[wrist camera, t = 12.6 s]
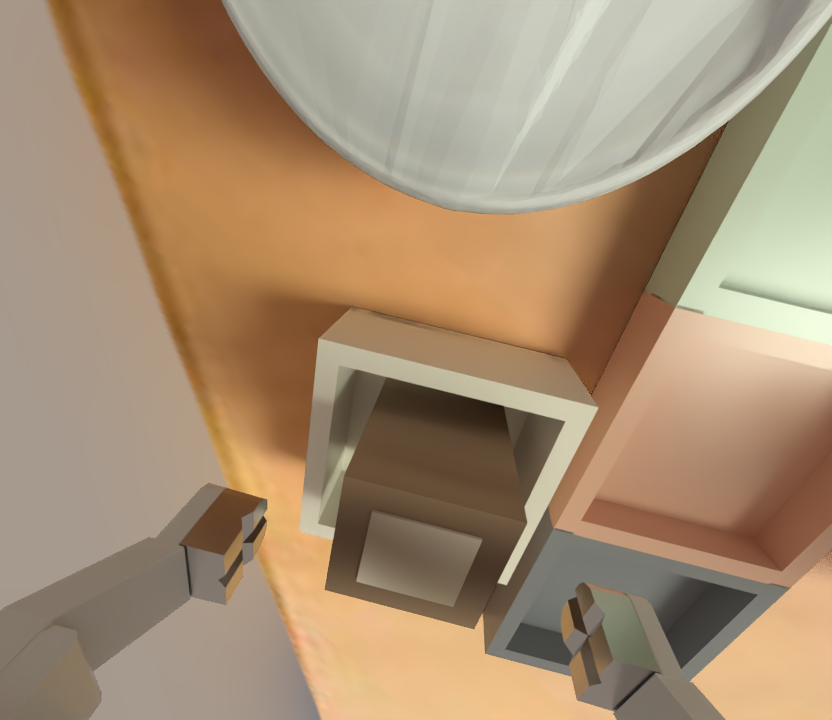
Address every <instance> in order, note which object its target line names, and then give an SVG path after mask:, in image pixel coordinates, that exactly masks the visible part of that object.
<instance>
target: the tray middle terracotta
mask: <svg viewBox="0 0 832 720" xmlns="http://www.w3.org/2000/svg"><path fill="white" fill-rule="evenodd" d="M654 296H655V297H654ZM659 297H660V296H659ZM663 299H664V298H663ZM677 306H678V307H677V308H675V307H673V306H671V305H669V304H667V303H665V302H663V301H661V300H659V299H658V297H656V294H654V293H651V295H649V294H647V293H646V289H645V290H644V292H643V294H642V296H641V298H640V300H639V302H638V304H637V306H636V308H635V310H634V312H633V314H632V316H631V318H630V320H629V322H628V324H627V326H626V328H625V330H624V332H623V334H622V336H621V338H620V340H619V342H618V344H617V346H616V348H615V350H614V352H613V354H612V356H611V358H610V360H609V362H608V364H607V366H606V368H605V370H604V372H603V374H602V376H601V378H600V380H599V382H598V384H597V386H596V388H595V390H594V392H593V394H592V396H591V397H592V398H593V400H594V401H595V403H596V404H597V406H598V407H599V408H598V410H597V412H596V414H595V416H594V418H593V420H592V422H591V424H590V425H589V427H588V429H587V431H586V433H585V435H584V437H583V439H582V441H581V443H580V445H579V447H578V449H577V451H576V452H575V454H574V456H573V458H572V460H571V462H570V464H569V466H568V468H567V470H566V472H565V474H564V476H563V478H562V479H561V481H560V483H559V485H558V487H557V489H556V491H555V493H554V495H553V497H552V499H551V501H550V503H549V504H548V507H549V509H548V510H549V511H550V512H549V515H550V519H551V522H552V526H553V529H554V530H555V529H556V528H557V529H558V530H559V529H561V530H565V531H564V532H567V531H569V532H573V534H574V535H577V536H581V537H585V538H589V539H593V540H597V541H601V542H605V543H609V544H613V545H617V546H621V547H625V548H628V549H632V550H636V551H640V552H644V553H648V554H652V555H656V556H660V557H664V558H668V559H672V560H676V561H679V562H683V563H687V564H691V565H695V566H699V567H703V568H707V569H711V570H715V571H719V572H723V573H727V574H730V575H734V576H738V577H742V578H746V579H750V580H754V581H758V582H762V583H766V584H770V585H772V583H773V584H774V586H776V585H777V586H779V587H781V586H784V588H785V587H787V588H785V589H790V588H791V587H792V586H793V585H794V584H795V583H796V582H797V581H798V580H799V579H801V578H802V577H803V576H804V575H805V574H806V573H807V572H808V571H809V570H810V569H811V568H812V567H814V566H815V565H816V564H817V563H818V562H819V561H820V560H821V559H822V558H823V557H824V556H825V555H827V554H828V553H829V552H830V551H831V550H832V345H829V344H825V343H820V342H816V341H812V340H808V339H804V338H799V337H795V336H791V335H787V334H783V333H779V332H774V331H770V330H766V329H762V328H758V327H754V326H749V325H745V324H741V323H737V322H733V321H729V320H724V319H720V318H716V317H712V316H708V315H704V314H703V313H704V311H703V313H702V314H701V313H700V312H698V313H695V312H696V311H695V312H691V311H693V309H694V308H693V309H692V310H691V308H689V307H688V308H686V307H685V306H684V307H685V310H684V309H682V308H681V307H680V309H678V308H679V305H677ZM689 309H690V310H691V311H688V310H689ZM694 310H697V309H694ZM697 311H698V310H697ZM700 311H701V310H700ZM699 313H700V314H699ZM559 531H560V530H559ZM571 534H572V533H571ZM788 587H789V588H788ZM782 588H783V587H782Z"/></svg>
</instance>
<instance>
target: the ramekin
mask: <svg viewBox="0 0 832 720" xmlns="http://www.w3.org/2000/svg"><path fill="white" fill-rule="evenodd" d="M221 1H222V3H223V5H224V7H225V9H226V11H227V13H228V15H229V17H230V19H231V21H232V23H233V25H234V26H235V28H236V30H237V32H238V34H239V35H240V37H241V39H242V41H243V42H244V44H245V45H246V47H247V49H248V50H249V52H250V53H251V55H252V56H253V58H254V59H255V61H256V63H257V64H258V66H259V67H260V69H261V70H262V72H263V73H264V74H265V76H266V77H267V78H268V80H269V81H270V83H271V84H272V85H273V87H274V88H275V89H276V91H277V92H278V93H279V94H280V96H281V97H282V98H283V99H284V100H285V102H286V103H287V104H288V105H289V106H290V108H291V109H292V110H293V111H294V112H295V113H296V115H297V116H298V117H299V118H300V119H301V120H302V121H303V122H304V123H305V124H306V125H307V126H308V127H309V128H310V129H311V130H312V131H313V132H314V133H315V134H316V135H317V136H318V137H319V138H320V139H321V140H322V141H323V142H324V143H325V144H326V145H328V146H329V147H330V148H331V149H333V150H334V151H335V152H337V153H338V154H339V155H340V156H342V157H343V158H344V159H345V160H347V161H348V162H350V163H351V164H353V165H354V166H355V167H357V168H358V169H360V170H361V171H363V172H364V173H366V174H368V175H369V176H371V177H372V178H374V179H376V180H378V181H380V182H381V183H383V184H385V185H387V186H389V187H391V188H393V189H395V190H397V191H399V192H402V193H404V194H406V195H408V196H411V197H414V198H416V199H419V200H421V201H424V202H427V203H430V204H433V205H436V206H439V207H442V208H445V209H449V210H453V211H463V212H471V213H479V214H520V213H530V212H538V211H544V210H550V209H555V208H560V207H565V206H569V205H572V204H576V203H579V202H583V201H586V200H589V199H592V198H595V197H598V196H601V195H604V194H606V193H609V192H612V191H614V190H616V189H618V188H621V187H623V186H625V185H628V184H630V183H632V182H634V181H636V180H638V179H640V178H642V177H644V176H646V175H648V174H650V173H652V172H654V171H656V170H657V169H659V168H661V167H662V166H664V165H666V164H668V163H669V162H671V161H672V160H674V159H675V158H677V157H679V156H680V155H682V154H683V153H685V152H687V151H688V150H690V149H691V148H693V147H694V146H696V145H697V144H698V143H700V142H701V141H702V140H704V139H705V138H706V137H708V136H709V135H710V134H712V133H713V132H714V131H716V130H717V129H718V128H720V127H721V126H722V125H724V124H725V123H726V122H728V121H729V120H730V119H731V118H733V117H734V116H735V115H736V114H737V113H738V112H739V111H741V110H742V109H743V108H744V107H745V106H746V105H747V104H748V103H750V102H751V101H752V100H753V99H754V98H755V97H756V96H758V95H759V94H760V93H761V92H762V91H763V90H764V89H765V88H766V87H767V86H768V85H769V84H770V83H771V82H772V81H773V80H774V79H775V78H776V77H777V76H778V75H779V74H780V73H781V72H782V71H783V70H784V69H785V68H786V67H787V66H788V65H789V64H790V63H791V62H792V60H793V59H794V58H795V57H796V56H797V55H798V54H799V53H800V52H801V51H802V49H803V48H804V47H805V46H806V45H807V44H808V43H809V42H810V41H811V39H812V38H813V37H814V36H815V35H816V34H817V33H818V31H819V30H820V29H821V28H822V27H823V26H824V24H825V23H826V22H827V21H828V20H829V18H830V17H831V16H832V0H221Z"/></svg>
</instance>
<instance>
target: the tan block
mask: <svg viewBox="0 0 832 720" xmlns="http://www.w3.org/2000/svg"><path fill="white" fill-rule="evenodd" d="M526 525H527V518H526V513H525V508H524V503H523V498H522V493H521V488H520V483H519V478H518V474H517V469H516V464H515V459H514V454H513V449H512V444H511V439H510V434H509V429H508V424H507V419H506V414H505V409H504V406H502V405H498V404H494V403H490V402H486V401H482V400H478V399H474V398H470V397H466V396H462V395H458V394H454V393H450V392H446V391H442V390H438V389H434V388H430V387H426V386H421V385H417V384H413V383H409V382H405V381H401V380H397V379H393V378H389V377H387V378H386V380H385V382H384V385H383V387H382V389H381V391H380V394H379V396H378V398H377V401H376V403H375V405H374V408H373V410H372V412H371V415H370V417H369V419H368V421H367V424H366V426H365V428H364V431H363V433H362V435H361V438H360V440H359V442H358V445H357V447H356V449H355V451H354V454H353V456H352V458H351V461H350V463H349V465H348V468H347V470H346V472H345V475H344V479H343V484H342V490H341V496H340V502H339V508H338V514H337V520H336V526H335V532H334V538H333V544H332V549H331V555H330V561H329V567H328V573H327V579H326V585H325V590H328V591H331V592H335V593H339V594H343V595H347V596H350V597H354V598H358V599H362V600H366V601H369V602H373V603H377V604H381V605H384V606H388V607H392V608H396V609H400V610H403V611H407V612H411V613H415V614H418V615H422V616H426V617H430V618H434V619H437V620H441V621H445V622H449V623H452V624H456V625H460V626H464V627H468V628H471V629H474V628H475V626H476V624H477V622H478V620H479V618H480V616H481V614H482V612H483V610H484V608H485V606H486V604H487V603H488V601H489V599H490V597H491V595H492V593H493V591H494V589H495V587H496V585H497V583H498V581H499V579H500V577H501V575H502V573H503V571H504V569H505V567H506V565H507V563H508V561H509V559H510V557H511V555H512V553H513V551H514V549H515V547H516V545H517V543H518V541H519V539H520V537H521V535H522V533H523V531H524V529H525V527H526Z"/></svg>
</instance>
